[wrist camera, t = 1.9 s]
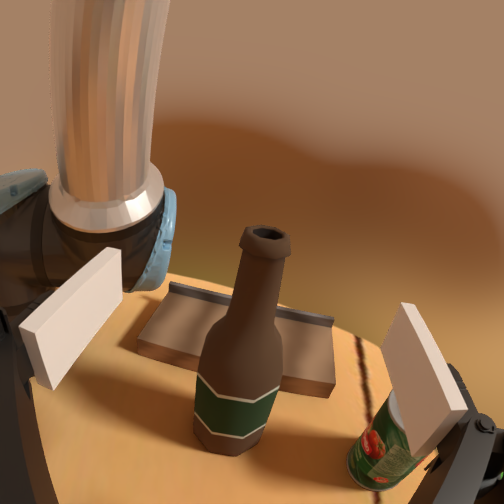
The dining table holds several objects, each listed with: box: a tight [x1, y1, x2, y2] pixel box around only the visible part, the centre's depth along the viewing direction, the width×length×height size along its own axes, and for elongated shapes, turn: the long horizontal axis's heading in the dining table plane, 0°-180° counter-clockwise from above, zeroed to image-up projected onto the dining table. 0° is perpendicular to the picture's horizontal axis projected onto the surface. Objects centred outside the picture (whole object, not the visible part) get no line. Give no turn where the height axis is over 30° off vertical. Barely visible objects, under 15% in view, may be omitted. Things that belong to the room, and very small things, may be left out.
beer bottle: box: [193, 225, 291, 456], centre depth 27 cm, size 8×8×24 cm
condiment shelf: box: [137, 281, 336, 398], centre depth 44 cm, size 26×13×4 cm, turn 81°
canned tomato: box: [346, 389, 436, 491], centre depth 27 cm, size 8×8×11 cm
